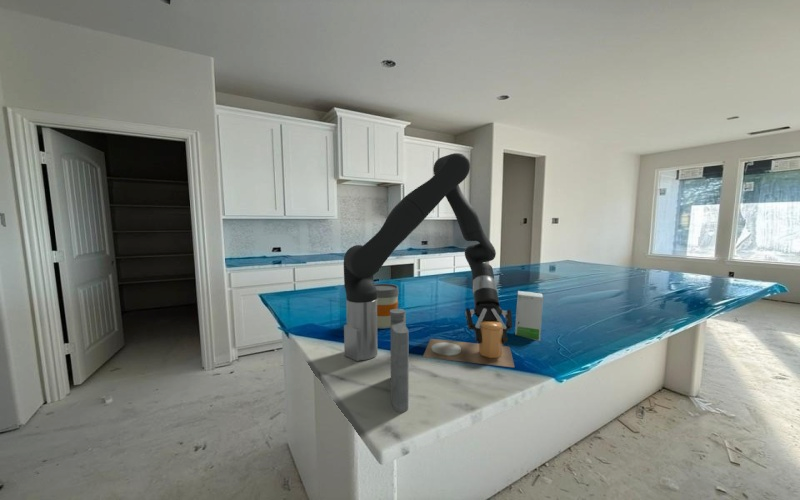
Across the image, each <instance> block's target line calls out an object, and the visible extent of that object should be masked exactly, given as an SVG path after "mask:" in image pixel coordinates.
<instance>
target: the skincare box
mask: <svg viewBox="0 0 800 500" xmlns="http://www.w3.org/2000/svg"><path fill="white" fill-rule="evenodd" d="M543 305H544V295H543V294H542V292H541V293H540V292H534V291H533V292H531V291H522V290H517V299H516V309H515V311H516V312H515V325H514V326H515V328H514V333H515V334H514V335H515V336H519V337H522V338H526V339H530V340H534V341H539V342H541V334H542V333H541V332H542V321H543V319H542V318H543Z"/></svg>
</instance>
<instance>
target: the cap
mask: <svg viewBox="0 0 800 500" xmlns="http://www.w3.org/2000/svg"><path fill="white" fill-rule="evenodd" d="M479 329H480V331H481V343H478V344H479V352H480V354H481V355H483V356H486V357H489V358H498V357H500V356H501V355H502V346H503V344H502V336H503V328H502V324H501V323H500V322H497V321H490V320H488V321H482V322H481V325H480V328H479Z"/></svg>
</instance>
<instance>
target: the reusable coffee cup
mask: <svg viewBox="0 0 800 500" xmlns="http://www.w3.org/2000/svg"><path fill="white" fill-rule="evenodd" d="M374 284H375V287H376V289H377V329H391V315H390V310H392V309H399V308H398V307H399V300H398V298H399V294H400V292H399V291H400V290H399V286H398V285H397V284H392V283H377V284H376V283H374Z"/></svg>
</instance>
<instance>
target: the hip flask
mask: <svg viewBox="0 0 800 500" xmlns="http://www.w3.org/2000/svg"><path fill="white" fill-rule="evenodd" d="M390 315H391V327H390V400H391V404H392V407H393V409H394V411H395V412H396V413H405V412H407V411H409V371H410V370H409V364H410V363H409V361H410V359H409V356H410V355H409V352H410V351H409V349H410V348H409V341H410V340H409V339H410V338H409V337H410V336H409V334H410V331H409V328H408V327H407V323H406V321H407V319H406V318H407V312H406V310H405V309H403V308H397V309H392V310H390Z"/></svg>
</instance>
